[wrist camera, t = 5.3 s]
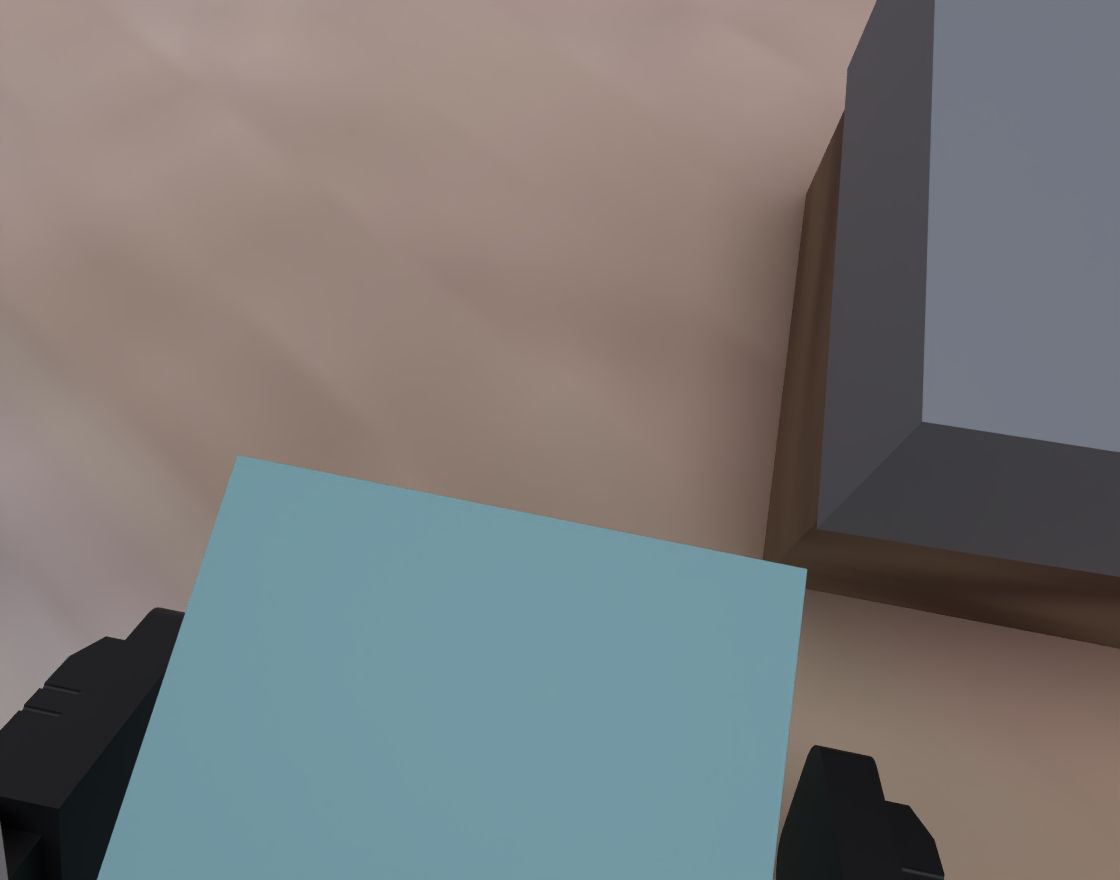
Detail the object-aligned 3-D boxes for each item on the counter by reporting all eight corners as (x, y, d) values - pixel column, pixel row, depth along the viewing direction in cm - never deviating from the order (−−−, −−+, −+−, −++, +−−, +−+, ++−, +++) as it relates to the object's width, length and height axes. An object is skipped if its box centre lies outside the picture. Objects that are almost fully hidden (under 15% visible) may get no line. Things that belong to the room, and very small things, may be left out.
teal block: (312, 949, 17) (17, 1116, 7) (387, 657, 19) (237, 454, 9) (603, 1012, 17) (728, 1275, 7) (651, 711, 19) (806, 569, 9)
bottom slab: (757, 582, 20) (819, 518, 16) (802, 201, 23) (865, 63, 19) (1216, 670, 20) (1401, 627, 16) (1199, 272, 23) (1349, 149, 19)
